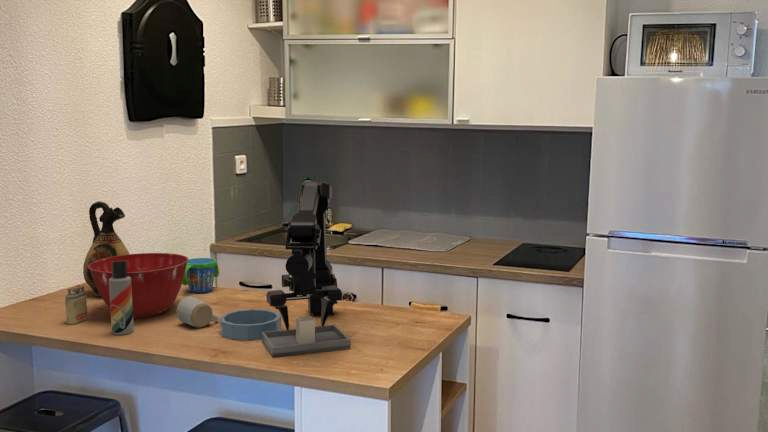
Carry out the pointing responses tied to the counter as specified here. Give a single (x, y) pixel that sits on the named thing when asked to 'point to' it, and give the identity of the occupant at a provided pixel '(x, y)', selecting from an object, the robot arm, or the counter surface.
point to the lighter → (76, 305)
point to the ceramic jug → (103, 239)
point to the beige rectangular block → (305, 330)
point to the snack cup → (200, 274)
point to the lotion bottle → (121, 299)
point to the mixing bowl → (144, 280)
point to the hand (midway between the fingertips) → (305, 328)
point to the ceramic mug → (195, 312)
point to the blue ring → (257, 319)
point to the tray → (287, 344)
